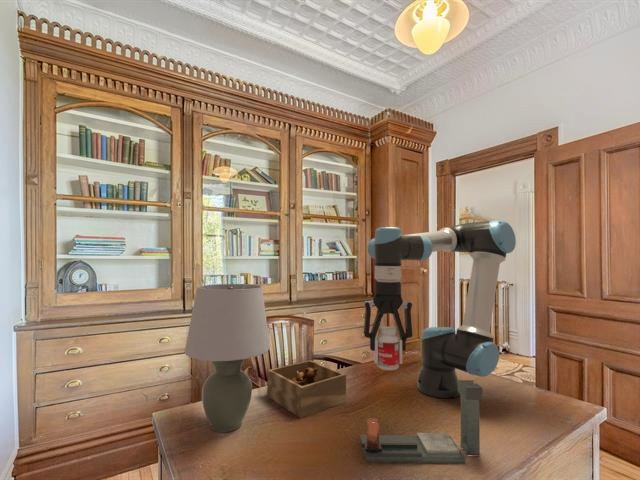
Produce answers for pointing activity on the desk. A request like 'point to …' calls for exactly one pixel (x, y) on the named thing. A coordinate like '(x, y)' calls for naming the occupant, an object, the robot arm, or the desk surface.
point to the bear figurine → (305, 377)
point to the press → (434, 437)
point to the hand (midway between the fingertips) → (387, 361)
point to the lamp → (227, 347)
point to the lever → (372, 435)
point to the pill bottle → (388, 348)
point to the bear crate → (306, 388)
